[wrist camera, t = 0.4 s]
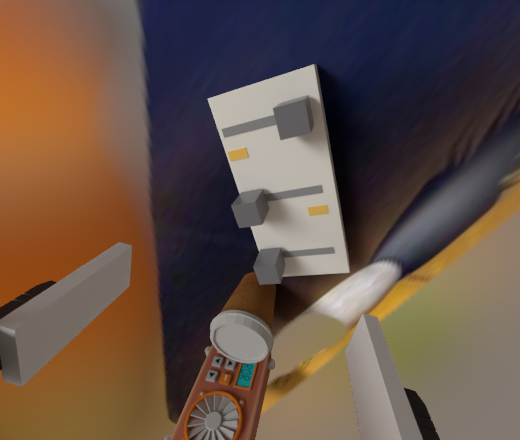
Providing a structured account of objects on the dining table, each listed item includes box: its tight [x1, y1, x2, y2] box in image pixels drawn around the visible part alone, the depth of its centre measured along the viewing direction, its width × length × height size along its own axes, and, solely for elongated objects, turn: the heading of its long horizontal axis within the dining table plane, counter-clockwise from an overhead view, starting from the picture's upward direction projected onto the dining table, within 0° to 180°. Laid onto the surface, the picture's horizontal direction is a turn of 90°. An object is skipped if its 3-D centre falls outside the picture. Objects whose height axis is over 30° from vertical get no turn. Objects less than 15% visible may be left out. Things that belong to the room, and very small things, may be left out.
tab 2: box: [253, 247, 286, 285], centre depth 37 cm, size 3×3×4 cm
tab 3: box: [273, 95, 314, 140], centre depth 27 cm, size 3×3×4 cm
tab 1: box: [231, 188, 269, 228], centre depth 33 cm, size 3×3×4 cm
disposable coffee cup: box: [210, 272, 276, 363], centre depth 43 cm, size 10×10×12 cm
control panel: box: [164, 344, 275, 440], centre depth 50 cm, size 21×7×15 cm
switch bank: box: [208, 64, 350, 277], centre depth 36 cm, size 12×26×4 cm, turn 16°
